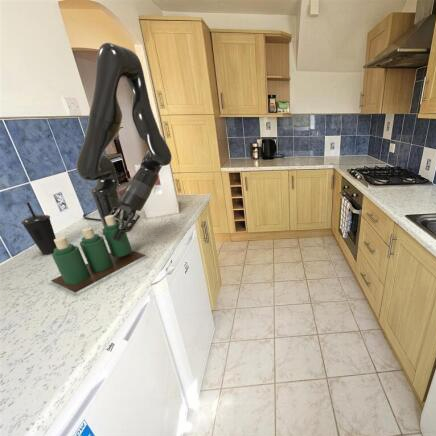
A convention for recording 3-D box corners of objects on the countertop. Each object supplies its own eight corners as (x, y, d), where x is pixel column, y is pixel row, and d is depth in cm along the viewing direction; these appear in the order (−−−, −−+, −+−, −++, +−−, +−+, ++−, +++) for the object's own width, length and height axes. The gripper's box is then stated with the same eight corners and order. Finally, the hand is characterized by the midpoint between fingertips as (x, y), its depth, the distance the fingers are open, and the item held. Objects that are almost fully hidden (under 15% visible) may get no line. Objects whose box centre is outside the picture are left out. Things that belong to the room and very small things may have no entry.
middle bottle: (86, 269, 80) (70, 231, 74) (106, 260, 85) (92, 223, 79) (97, 273, 78) (81, 234, 72) (116, 264, 82) (102, 226, 77)
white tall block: (179, 212, 128) (168, 165, 118) (146, 218, 122) (132, 168, 112) (178, 202, 144) (169, 159, 134) (149, 206, 138) (137, 162, 129)
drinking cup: (68, 248, 96) (47, 200, 88) (45, 258, 89) (19, 207, 81) (56, 245, 98) (34, 198, 90) (32, 254, 91) (6, 205, 83)
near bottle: (61, 281, 74) (41, 241, 69) (83, 271, 79) (66, 232, 73) (71, 286, 72) (52, 245, 66) (94, 275, 77) (77, 236, 71)
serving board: (51, 283, 75) (50, 280, 75) (122, 249, 93) (121, 247, 93) (76, 295, 70) (75, 292, 69) (146, 257, 88) (146, 255, 87)
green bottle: (108, 255, 85) (94, 218, 80) (125, 247, 90) (113, 212, 85) (118, 258, 83) (105, 221, 77) (135, 250, 88) (123, 214, 82)
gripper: (115, 187, 87) (89, 229, 83) (137, 192, 80) (109, 239, 76) (135, 197, 94) (111, 237, 89) (156, 202, 87) (132, 246, 82)
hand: (110, 237), depth 82 cm, fingers closed on green bottle, 6 cm apart
